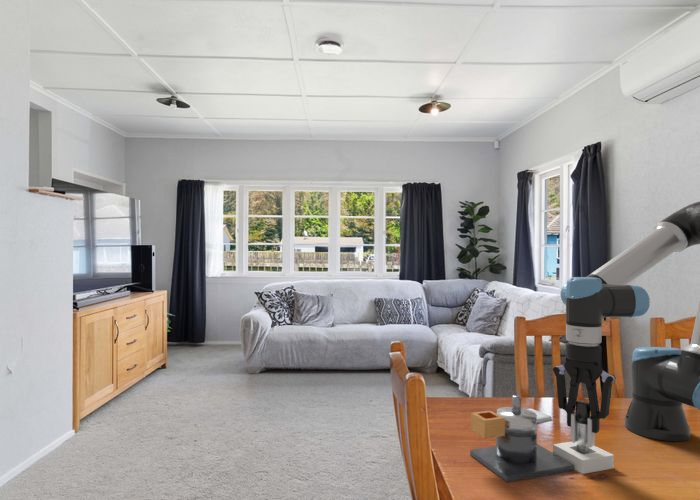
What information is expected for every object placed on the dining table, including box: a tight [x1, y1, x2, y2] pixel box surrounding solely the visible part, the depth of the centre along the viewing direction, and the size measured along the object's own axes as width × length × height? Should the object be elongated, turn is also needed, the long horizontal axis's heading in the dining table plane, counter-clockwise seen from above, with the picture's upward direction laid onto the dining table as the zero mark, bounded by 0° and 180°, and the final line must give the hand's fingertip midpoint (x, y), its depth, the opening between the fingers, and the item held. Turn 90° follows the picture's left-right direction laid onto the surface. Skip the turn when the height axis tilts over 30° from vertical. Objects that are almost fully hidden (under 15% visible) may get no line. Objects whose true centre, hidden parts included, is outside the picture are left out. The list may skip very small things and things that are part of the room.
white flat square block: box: [552, 441, 615, 475], centre depth 109 cm, size 9×9×3 cm
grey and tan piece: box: [470, 394, 538, 439], centre depth 109 cm, size 15×9×8 cm, turn 109°
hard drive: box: [527, 408, 553, 424], centre depth 138 cm, size 2×8×12 cm
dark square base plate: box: [469, 432, 575, 483], centre depth 109 cm, size 18×14×7 cm
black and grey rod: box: [575, 400, 591, 454], centre depth 109 cm, size 3×3×14 cm
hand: (582, 442), depth 109 cm, fingers closed on black and grey rod, 3 cm apart
